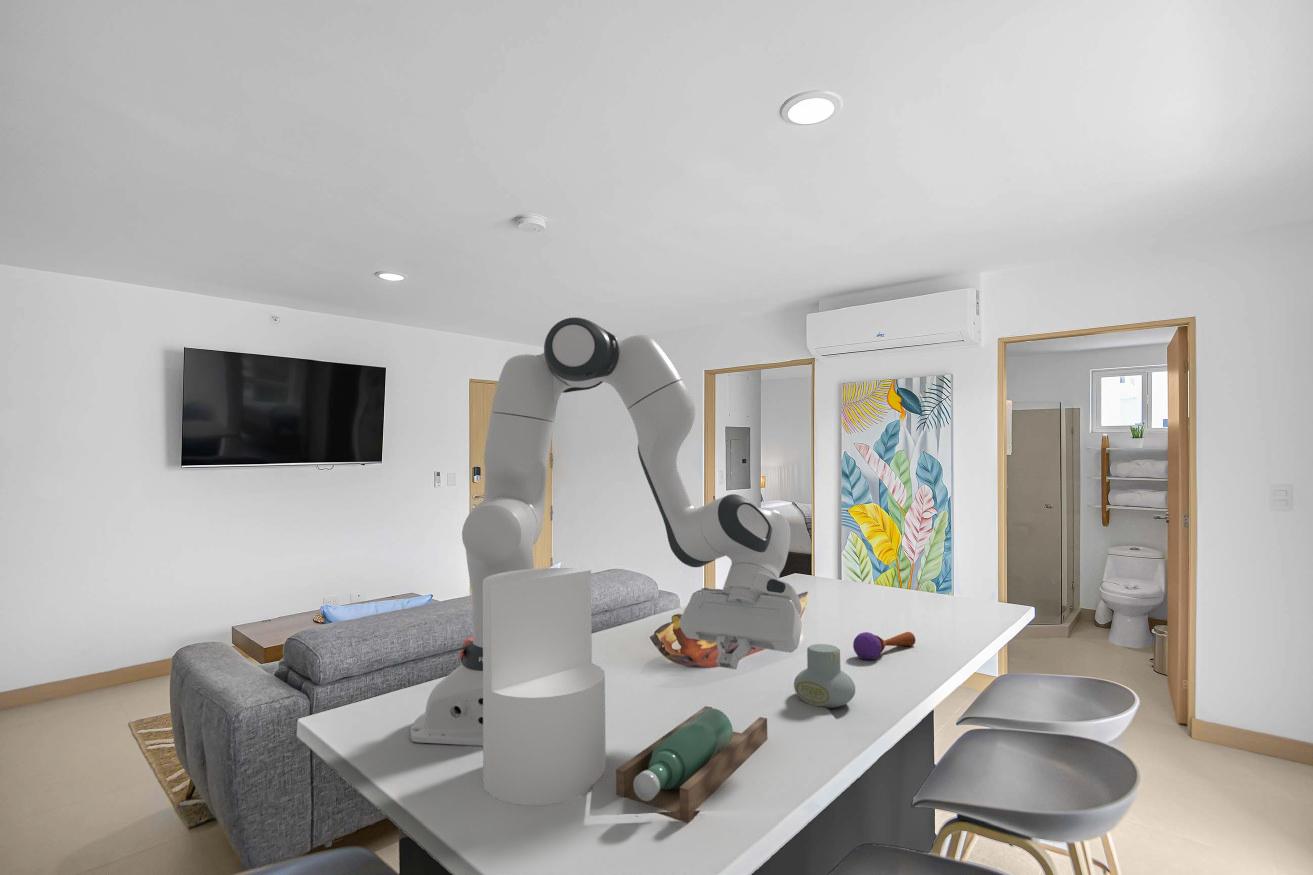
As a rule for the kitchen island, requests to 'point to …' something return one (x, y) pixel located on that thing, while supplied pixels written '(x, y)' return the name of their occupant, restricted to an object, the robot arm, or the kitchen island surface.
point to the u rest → (700, 783)
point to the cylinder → (541, 687)
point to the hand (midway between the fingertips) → (725, 666)
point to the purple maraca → (879, 644)
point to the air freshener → (824, 678)
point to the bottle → (684, 753)
